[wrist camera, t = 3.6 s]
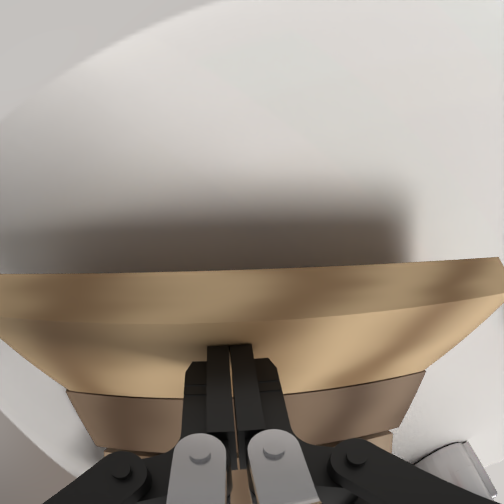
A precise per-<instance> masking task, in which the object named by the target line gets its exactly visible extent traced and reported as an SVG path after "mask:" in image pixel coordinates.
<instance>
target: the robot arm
mask: <svg viewBox="0 0 504 504" xmlns="http://www.w3.org/2000/svg"><path fill="white" fill-rule="evenodd" d="M230 351H231V369H232V385H233V398H234V410H235V422H236V433H237V444H238V454H239V464H240V470H242V469H247V476H248V489H249V495H250V499H251V504H500V503H497V502H495V501H494V500H493V499H494V498H495V497H496V496H497V491H496V489H495V487H494V486H493V484H492V482H491V480H490V478H489V476H488V475H487V473H486V471H485V469H484V467H483V466H482V464H481V462H480V461H479V459H478V457H477V455H476V454H475V452H474V450H473V449H472V447H471V445H470V444H469V442H466V443H464V444H462V443H455V444H452V445H449V446H446V447H444V448H442V449H440V450H438V451H436V452H434V453H432V454H431V455H429V456H427V457H426V458H424V459H423V460H421V461H420V462H418V463H417V464H415V465H412V464H410V463H408V462H406V461H404V460H402V459H401V458H399V457H397V456H395V455H393V454H391V453H389V452H387V451H385V450H384V449H382V448H380V447H378V446H376V445H374V444H373V443H371V442H369V441H367V440H364V439H359V438H352V439H347V440H344V441H342V442H340V443H339V444H337V445H336V446H335V447H327V446H317V445H312V444H309V443H306V442H304V441H302V440H301V439H299V438H298V437H297V436H296V435H295V434H294V432H293V431H292V429H291V425H290V421H289V417H288V413H287V409H286V404H285V400H284V396H283V392H282V387H281V383H280V379H279V375H278V371H277V367H276V366H275V365H274V364H273V363H272V362H271V360H270V359H269V358H256V359H254V355H253V349H252V344H242V345H230ZM231 470H238V466H237V453H236V439H235V426H234V414H233V402H232V389H231V376H230V362H229V347H228V345H223V346H207V361H192V363H191V364H190V366H189V367H188V369H187V370H186V372H185V382H184V397H183V410H182V426H181V436H180V439H179V441H178V443H177V444H176V445H175V446H174V447H173V448H172V449H171V450H169V451H168V452H166V453H164V454H161V455H157V456H153V457H148V458H144V459H141V458H140V457H139V456H137V455H136V454H134V453H131V452H127V451H117V452H113V453H111V454H108V455H107V456H105V457H104V458H103V459H102V460H100V461H99V462H98V463H96V464H95V465H94V466H93V467H91V468H90V469H89V470H87V471H86V472H85V473H83V474H82V475H81V476H79V477H78V478H77V479H76V480H75V481H73V482H72V483H70V484H69V485H67V486H66V487H65V488H63V489H62V490H61V491H59V492H58V493H57V494H55V495H54V496H52V497H51V498H50V499H48V500H47V501H46V502H44V503H43V504H231V491H232V488H233V483H232V471H231Z"/></svg>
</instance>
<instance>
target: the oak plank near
mask: <svg viewBox="0 0 504 504" xmlns="http://www.w3.org/2000/svg"><path fill="white" fill-rule="evenodd" d="M503 303H504V266H503V264H502V263H501V261H500V259H499V257H491V258H476V259H460V260H444V261H427V262H409V263H391V264H371V265H350V266H328V267H305V268H279V269H252V270H221V271H186V272H143V273H83V274H0V338H1V339H2V340H3V341H4V342H5V343H7V344H8V345H9V346H10V347H11V348H13V349H14V350H15V351H16V352H17V353H19V354H20V355H21V356H23V357H24V358H25V359H26V360H28V361H29V362H30V363H32V364H33V365H34V366H36V367H37V368H38V369H40V370H41V371H42V372H44V373H45V374H46V375H48V376H49V377H51V378H52V379H53V380H55V381H56V382H58V383H59V384H61V385H62V386H64V387H65V388H67V389H68V390H70V391H77V392H86V393H95V394H106V395H118V396H132V397H153V398H183V397H184V382H185V372H186V370H187V369H188V367H189V366H190V364H191V363H192V361H207V346H223V345H228V347H229V362H230V376H231V389H232V397H233V385H232V369H231V351H230V345H242V344H252V349H253V355H254V359H256V358H269V359H270V360H271V362H272V363H273V364H274V365H275V366H276V367H277V371H278V375H279V379H280V383H281V387H282V392H283V394H287V393H297V392H306V391H315V390H322V389H330V388H337V387H343V386H350V385H356V384H362V383H367V382H373V381H378V380H383V379H388V378H393V377H398V376H403V375H407V374H412V373H416V372H420V371H423V370H425V369H426V368H427V367H429V366H430V365H431V364H433V363H434V362H435V361H437V360H438V359H439V358H441V357H442V356H443V355H444V354H446V353H447V352H448V351H450V350H451V349H452V348H453V347H455V346H456V345H457V344H458V343H459V342H461V341H462V340H463V339H464V338H465V337H467V336H468V335H469V334H470V333H471V332H472V331H474V330H475V329H476V328H477V327H478V326H479V325H480V324H481V323H483V322H484V321H485V320H486V319H487V318H488V317H489V316H490V315H491V314H492V313H493V312H495V311H496V310H497V309H498V308H499V307H500V306H501V305H502V304H503Z"/></svg>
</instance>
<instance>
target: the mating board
mask: <svg viewBox="0 0 504 504" xmlns="http://www.w3.org/2000/svg"><path fill="white" fill-rule="evenodd" d="M425 372H426V371H425V370H423V371H420V372H416V373H412V374H407V375H403V376H398V377H393V378H388V379H383V380H378V381H373V382H367V383H362V384H356V385H350V386H343V387H337V388H330V389H322V390H315V391H306V392H297V393H287V394H283V396H284V400H285V404H286V409H287V413H288V417H289V421H290V425H291V429H292V431H293V432H294V434H295V435H296V436H297V437H298V438H299V439H301V440H302V441H304V442H306V443H309V444H312V445H318V444H324V443H330V442H336V441H341V440H346V439H351V438H356V437H361V436H365V435H370V434H374V433H378V432H382V431H386V430H390V429H394V428H397V427H399V426H400V424H401V422H402V420H403V418H404V416H405V414H406V412H407V410H408V409H409V407H410V405H411V403H412V400H413V398H414V396H415V394H416V392H417V390H418V388H419V386H420V384H421V381H422V379H423V377H424V375H425ZM66 393H67V395H68V397H69V399H70V401H71V403H72V405H73V406H74V408H75V410H76V412H77V414H78V416H79V417H80V419H81V421H82V423H83V425H84V426H85V428H86V430H87V431H88V433H89V435H90V436H91V438H92V440H93V441H94V443H95V445H96V446H99V447H106V448H114V449H123V450H133V451H145V452H160V453H166V452H168V451H169V450H171V449H172V448H173V447H174V446H175V445H176V444H177V443H178V441H179V439H180V436H181V426H182V410H183V398H153V397H132V396H118V395H106V394H95V393H86V392H77V391H70V390H68V389H67V390H66ZM232 402H233V414H234V426H235V439H236V453H238V444H237V433H236V422H235V410H234V398H233V397H232Z"/></svg>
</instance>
